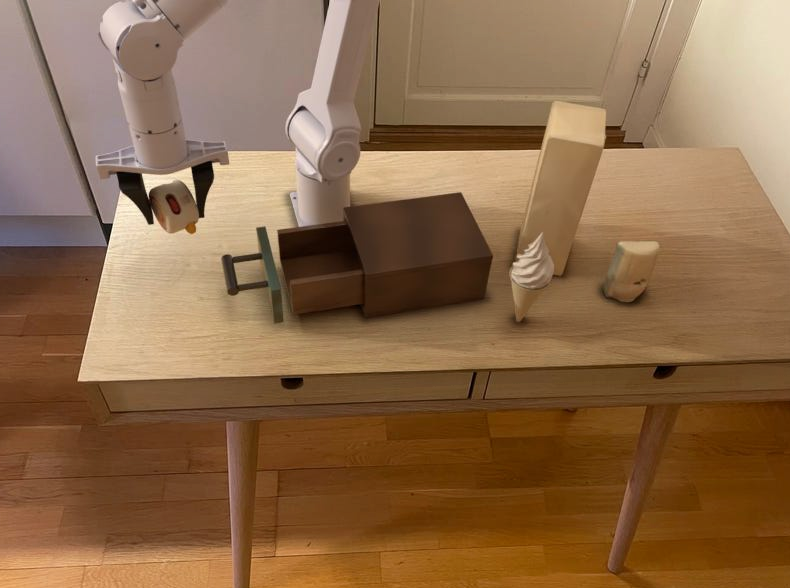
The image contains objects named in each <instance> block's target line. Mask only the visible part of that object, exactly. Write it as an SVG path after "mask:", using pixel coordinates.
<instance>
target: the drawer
mask: <svg viewBox="0 0 790 588" xmlns="http://www.w3.org/2000/svg"><path fill="white" fill-rule="evenodd" d="M255 230H256V231H255V233H256V239H257V249H258V252H257V253H249V254H242V255H235V256H233V255H231V254H228V253H225V254H223V255H221V258H220V260H221V261H220V262H221V265H222V271H223V276H224V283H225V288H226V293H227V294H228V295H229V296H231V297H233V296H235V297H236V296H237V295H239V293H240V292H244V291H251V290H258V289H265V290H266V295H267V298H268V303H269V307H270V311H271V316H272V320H273V324H281V323H282V324H283V323H285V321H284V320H285V319H284V308H283V298H282V288H281V284H280V280H279V275H278V271H277V269H276V268H277V267H276V262H275V260H274V255H273V251H272V247H271V243H270V238H269V235H268V230H267V228H266V225H265V226H257V227H256V228H255ZM276 233H277V234H276V235H277V236H276V237H277V246H278V247H277V248H278V259H279V263H280V268H281V271H282V276H283V279H284V283H285V287H286V292H287V296H288V300H289V303H290V307H291V311H292V314H293V315H294V316H295V315H301V314H307V313H313V312H319V311H326V310H332V309H338V308H345V307H351V306H357V305H361V304H364V287H365V274H364V271H363V268H362V265H361V262H360V259H359V256H358V254H357V251H356V248H355V245H354V242H353V239H352V236H351V233H350V231H349V228H348V225H347V222H346V221H339V222H332V223H324V224H317V225H309V226H302V227H299V226H294V227H287V228H281V229H277V230H276ZM254 261H259V263H260V267H261V272H262V277H263V280H262V281H261V280H260V281H255V282H249V283H241V284H239V283H238V278H237V273H236V272H237V271H236V267H235V264H239V263H245V262H246V263H247V262H254Z"/></svg>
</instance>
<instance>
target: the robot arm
mask: <svg viewBox="0 0 790 588" xmlns="http://www.w3.org/2000/svg"><path fill="white" fill-rule="evenodd" d="M380 2H381V0H329V5H328V8H327V13H326V18H325V22H324V27H323V31H322V35H321V40H320V44H319V49H318V54H317V59H316V64H315V68H314V71H313V77H312V82H311V87H310V88H308V89H305V90H303V91H301V92H299V93H298V95H297V99H296V100H297V101H296V103H295V105H294V107H293V109H292V111H291V112H290V113H289V115H288V117H287V119H286V121H285V126H284V127H285V128H284V129H285V134H286V137H287V139H288V140H289V142H291V143H292V144H293V145H294V146H295V148H294V149H295V157H294V167H295V184H296V185H295V186H296V191H291V192H290V193H289V197H290V200H291V204H292V207H293V211H294V215H295V218H296V222H297V225H298V227H302V226H309V225H317V224H324V223H332V222H339V221H343V207H351V206H352V205H351V174H352V172H353V170H354V169H355V168H356V166H357V165H358V163H359V161H360V157H361V144H360V135H361V131H362V125H361V122H360V118H359V115H358V112H357V109H356V106H355V99H356V94H357V90H358V86H359V83H360V78H361V75H362V71H363V67H364V63H365V60H366V57H367V51H368V48H369V44H370V40H371V37H372V33H373V30H374V26H375V21H376V17H377V13H378V9H379V5H380ZM227 4H228V0H124V1H118V2H116V3H114V4H111V6H109V7H108V8H107V9H106V10H105V11H104V12H103V15H102V17H101V18H102V21H100V24H99V30H98V31H97V36H98V38H99V40H100V42H101V44H102V45H103V46H104V47H105V49H106V50H107V51H109V52H110V53H111V55H112V56H113V57H112V62H113V65H114V70H115V75H116V78H117V86H118V90H119V94H120V98H121V102H122V106H123V110H124V114H125V117H126V122H127V126H128V130H129V133H130V137H131V141H132V145H130V146H127V147H125V148H124V147H123V148H122V149H119V150H115V151H112V152H108V153H104V154H98V155H97V154H96V155H95V168H96V170H97V174H98V177H99V180H109V179H110V178H111V176H113V175H116V177H117V183H118V189H119V191H120V192H121V193H122V195H124V196H125V197H127V198H128V199H129V200H130V201H131V202H132V203H133V204H134V205H135V206H136V207H137V208H138V210H139V211H140V212H141V214H142V215H143V217H144V219H145V220H146V223H147V226H151V225H155V220H154V213H153V210H152V207H151V204H150V201H149V194H148V193H147V189H146V185H145V181H144V177H143V174H144V175H153V176H154V175H156V176H166V175H171V174H175V173H178V172H181V171H183V170H187V169H190V170H191V176H192V183H193V187H194V195H195V202H196V205H197V208H198V212H199V219H204V218H205V208H206V202H207V198H208V195H209V192H210V189H211V188H212V185H213V184H214V180H215V172H214V167H213V164H218V163H219V165H220V166H230V157H229V151H228V147H227V142H226V141H208V140H207V141H206V140H195V139H187V137H186V134H185V129H184V128H185V127H184V123H183V118H182V114H181V112H182V111H181V108H180V103H179V98H178V92H177V87H176V81H175V78H174V75H173V71H172V69H173V68H174V66H175V64H176V62H177V58H178V52H179V50H180V49H181V47H183V46H184V44H183V43H184V42H185V40H187V39H188V38H190V36H191V35H193V34H194V33H195V32H196V31H197V30H199V29H200V28H201V27H202V26H204V24H206V23H207V22H208V21H209V20H210V19H211V18H212V17H213V16H216V14H217V13H218V12H219V11H221V10H222V9H223V8H224V7H225V6H226V5H227Z"/></svg>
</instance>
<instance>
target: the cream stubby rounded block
mask: <svg viewBox="0 0 790 588" xmlns="http://www.w3.org/2000/svg"><path fill="white" fill-rule="evenodd" d="M661 250H662V246H661V244H660V242H658V241H657V240H630V241H629V240H628V241H627V240H621V241H619V242H617V244H616V247H615V250H614V253H613V255H612V258H611V262H610V263H609V267H608V270H607V273H606V275H605V280H604V283H603V288H602V289H603V290H602V291H603V294H604V295H605V297H607V298H609V299H614V300H617V301H619V302H623V303H630V302H633V301H635V300H636V298H637V297H639V296H641V294H642V293H643V292H644V290H645V289H646V287H647V285H648V283H649V281H650V279H651V278H652V275H653V273H654V270H655V267H656V265H657V264H656V263H657V261H658V257H659V253H660V252H661Z"/></svg>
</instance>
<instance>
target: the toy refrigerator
mask: <svg viewBox="0 0 790 588" xmlns="http://www.w3.org/2000/svg"><path fill="white" fill-rule="evenodd" d="M606 124H607V110H606V109H604V108H600V107H595V106H590V105H589V106H588V105H584V104H578V103H571V102H565V101H560V100H553V102H551V107H550V111H549V115H548V119H547V122H546V127H545V132H544V135H543V138H542V143H541V146H540V151H539V155H538V159H537V161H536V167H535V170H534V175H533V179H532V183H531V186H530V190H529V193H528V194H529V195H528V198H527V203H526V207H525V211H524V216H523V219H522V223H521V227H520V231H519V236H518V242H517V248H516V255H515V261H514V262H518V261H519V258H517V255H518V254H521V255H524V254H525V252H524V250H526V249H529V246H528V245H529V244H532V243H533V242H534V241H535V240H536V239H537V238H538V237H539V235H540V234H541V233H542V232H543V235H544V240H545V244H546V246H547V248H548V249H549V253H548V255H549V256H550V257H551V259H552V262H553V264H554V272H553V275H554V276H559V277H561V276H563V273H564V271H565V268H566V264H567V262H568V259H569V255H570V252H571V249H572V246H573V243H574V240H575V236H576V233H577V231H578V228H579V225H580V222H581V218H582V215H583V212H584V209H585V206H586V203H587V200H588V197H589V194H590V191H591V188H592V186H593V185H592V184H593V182H594V179H595V175H596V173H597V170H598V167H599V163H600V160H601V158H602V155H603V151H604V148H605V143H606V139H607V134H606V127H607V126H606ZM553 275H552V276H553Z"/></svg>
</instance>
